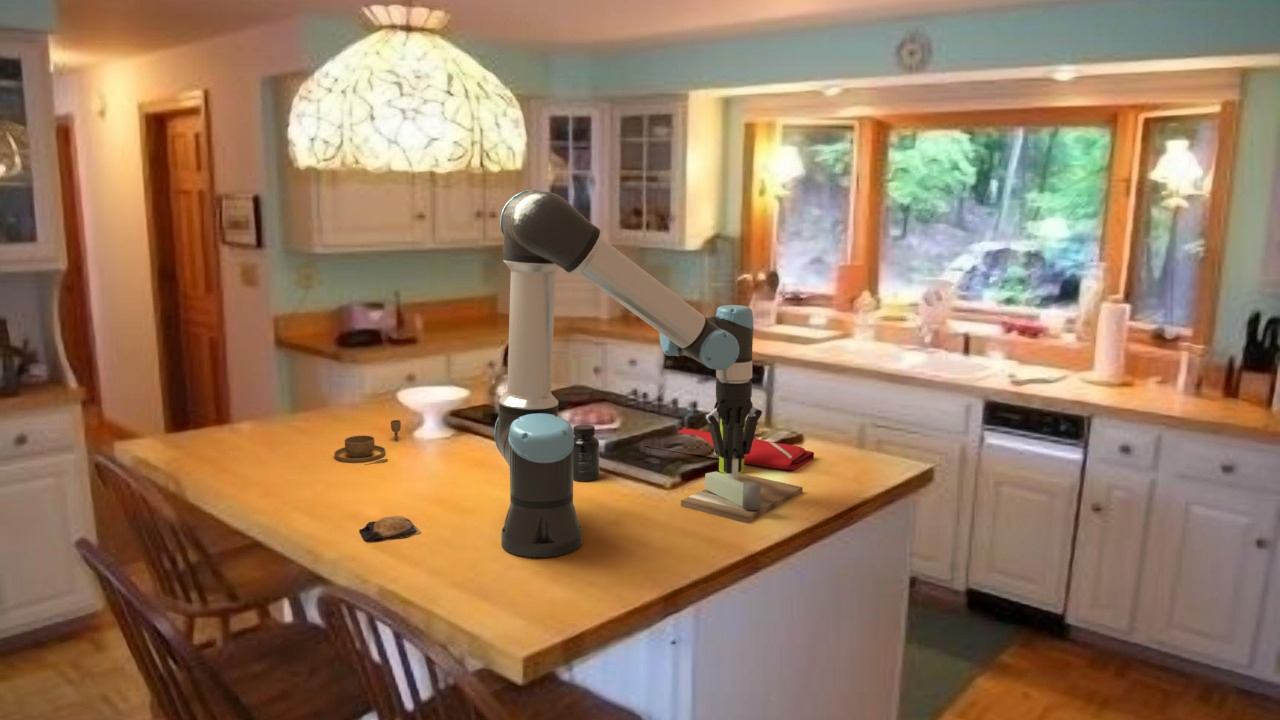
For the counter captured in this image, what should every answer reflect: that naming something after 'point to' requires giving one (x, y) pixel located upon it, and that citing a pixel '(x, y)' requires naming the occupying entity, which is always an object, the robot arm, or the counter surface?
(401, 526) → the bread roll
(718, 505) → the walnut board
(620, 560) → the counter surface
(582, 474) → the supplement bottle
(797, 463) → the dish drying mat
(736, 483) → the sharpening stone
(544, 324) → the robot arm
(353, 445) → the place setting
